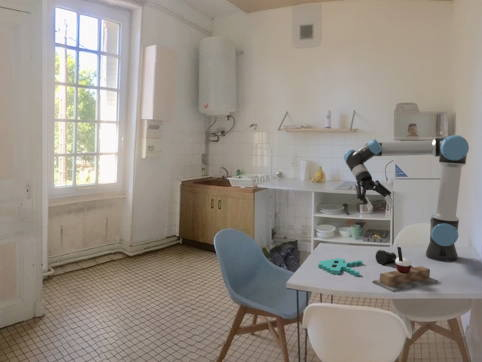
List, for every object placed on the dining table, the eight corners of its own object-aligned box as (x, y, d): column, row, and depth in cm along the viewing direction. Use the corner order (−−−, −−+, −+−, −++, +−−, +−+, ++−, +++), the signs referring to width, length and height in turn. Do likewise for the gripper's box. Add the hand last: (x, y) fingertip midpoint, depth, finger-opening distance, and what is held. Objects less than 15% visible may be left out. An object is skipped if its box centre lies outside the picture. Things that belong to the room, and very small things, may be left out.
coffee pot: (373, 261, 208) (385, 261, 211) (400, 276, 192) (412, 275, 195) (376, 247, 206) (389, 247, 210) (403, 261, 190) (416, 261, 194)
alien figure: (362, 264, 205) (323, 261, 212) (362, 260, 204) (323, 256, 212) (358, 277, 186) (315, 272, 193) (359, 272, 186) (315, 268, 193)
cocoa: (405, 269, 181) (406, 243, 180) (416, 273, 175) (417, 246, 174) (388, 271, 177) (389, 244, 177) (399, 275, 172) (400, 247, 171)
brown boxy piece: (416, 274, 188) (416, 263, 188) (437, 282, 177) (438, 271, 177) (372, 282, 178) (372, 271, 177) (392, 291, 167) (392, 280, 166)
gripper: (377, 178, 217) (397, 210, 204) (339, 180, 207) (357, 214, 195) (384, 169, 211) (405, 201, 199) (345, 171, 201) (365, 205, 189)
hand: (382, 207), depth 197 cm, fingers open, 13 cm apart
